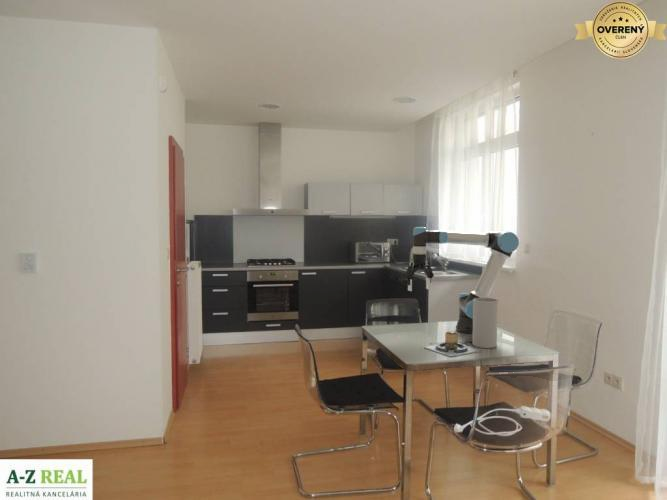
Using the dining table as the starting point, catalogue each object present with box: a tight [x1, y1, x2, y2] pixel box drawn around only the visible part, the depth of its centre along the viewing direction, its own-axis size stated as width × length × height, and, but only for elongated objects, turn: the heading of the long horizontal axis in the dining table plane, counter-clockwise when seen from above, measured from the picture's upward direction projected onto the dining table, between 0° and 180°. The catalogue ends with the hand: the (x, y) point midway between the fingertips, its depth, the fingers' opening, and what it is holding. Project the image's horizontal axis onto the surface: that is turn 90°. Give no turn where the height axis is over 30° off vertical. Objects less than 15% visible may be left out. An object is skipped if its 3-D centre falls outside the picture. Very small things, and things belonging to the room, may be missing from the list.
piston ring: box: [435, 341, 469, 353], centre depth 257 cm, size 16×16×2 cm
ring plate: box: [423, 344, 481, 358], centre depth 258 cm, size 20×20×1 cm
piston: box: [444, 330, 459, 350], centre depth 258 cm, size 6×6×8 cm
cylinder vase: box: [472, 297, 499, 349], centre depth 265 cm, size 12×12×25 cm
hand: (419, 290), depth 288 cm, fingers open, 13 cm apart
